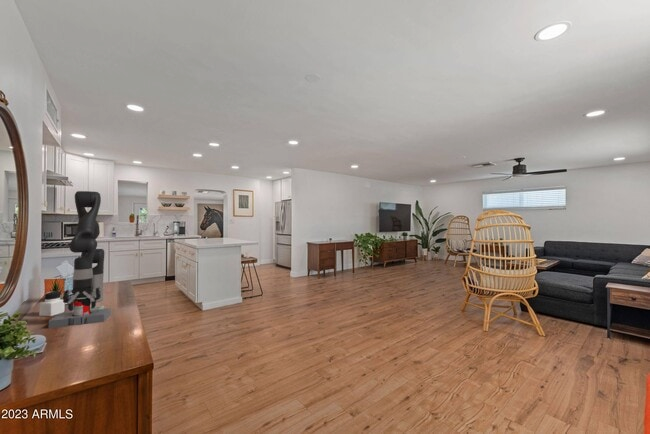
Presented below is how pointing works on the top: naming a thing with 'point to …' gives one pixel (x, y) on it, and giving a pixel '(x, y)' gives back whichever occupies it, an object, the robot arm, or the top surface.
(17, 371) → the top surface
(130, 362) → the top surface
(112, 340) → the top surface
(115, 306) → the top surface
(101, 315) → the socket plate
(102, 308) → the tray frame
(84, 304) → the beverage can
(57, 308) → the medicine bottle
